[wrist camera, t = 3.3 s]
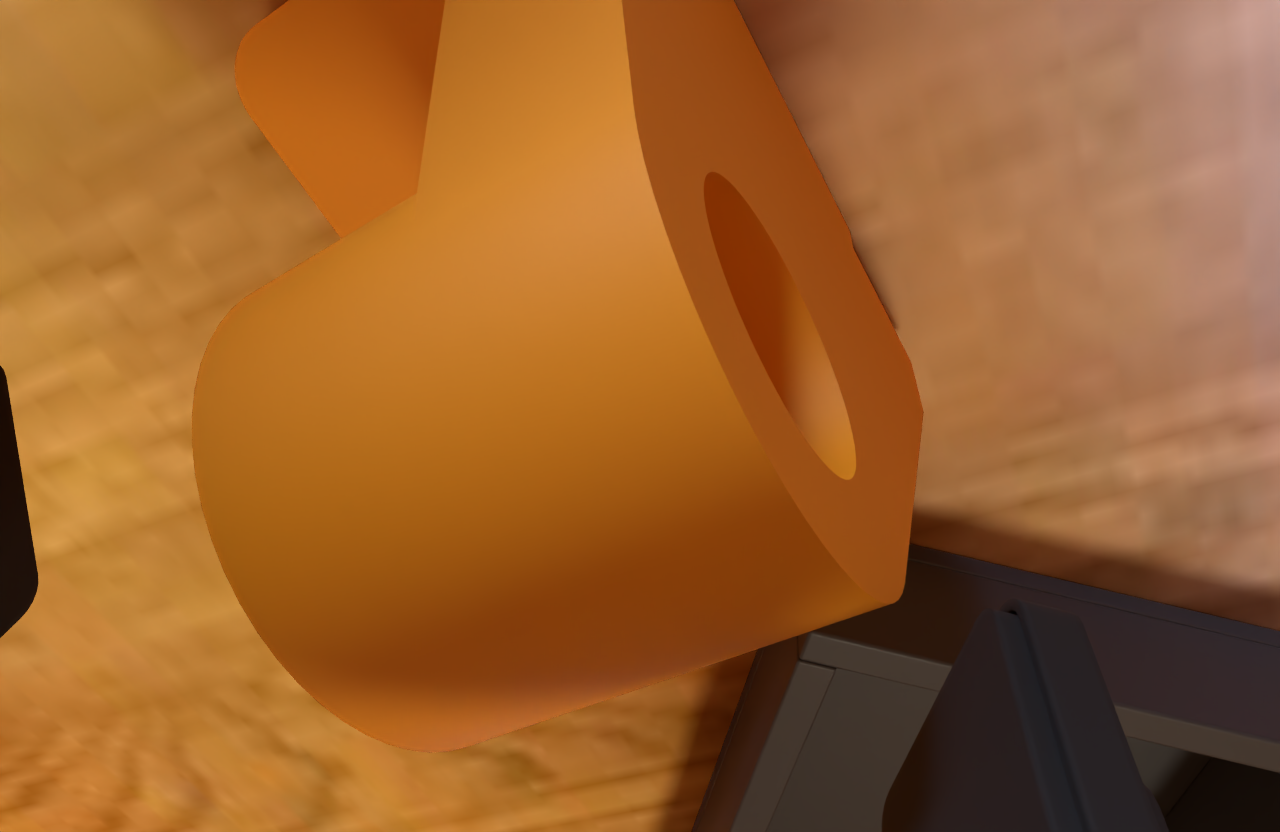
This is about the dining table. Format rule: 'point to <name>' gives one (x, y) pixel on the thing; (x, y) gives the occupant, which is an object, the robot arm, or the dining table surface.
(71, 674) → the dining table surface
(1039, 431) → the dining table surface
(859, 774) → the tray
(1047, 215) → the dining table surface
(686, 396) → the bracket
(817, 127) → the dining table surface
